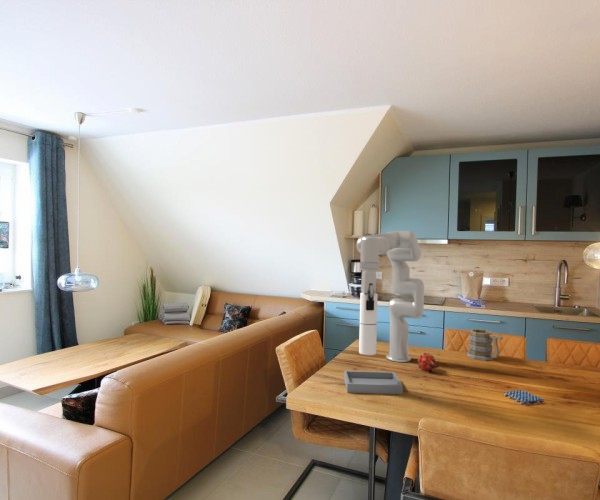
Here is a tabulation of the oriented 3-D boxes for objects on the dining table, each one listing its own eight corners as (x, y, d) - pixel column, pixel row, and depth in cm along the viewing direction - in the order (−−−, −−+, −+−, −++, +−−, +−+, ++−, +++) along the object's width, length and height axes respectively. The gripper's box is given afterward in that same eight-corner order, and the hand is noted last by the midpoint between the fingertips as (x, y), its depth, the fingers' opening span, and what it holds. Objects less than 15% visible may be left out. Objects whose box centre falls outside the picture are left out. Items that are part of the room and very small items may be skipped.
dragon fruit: (423, 368, 190) (432, 380, 179) (410, 359, 189) (419, 370, 177) (434, 355, 190) (444, 367, 178) (421, 346, 188) (431, 356, 177)
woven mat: (524, 407, 144) (524, 402, 144) (502, 396, 154) (502, 391, 154) (546, 404, 147) (546, 399, 147) (522, 394, 157) (523, 389, 157)
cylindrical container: (356, 353, 160) (358, 293, 159) (362, 349, 166) (363, 292, 166) (373, 356, 157) (374, 295, 156) (378, 351, 163) (379, 293, 163)
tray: (344, 378, 170) (344, 370, 170) (394, 379, 169) (394, 372, 169) (347, 392, 154) (347, 383, 154) (402, 394, 153) (402, 385, 153)
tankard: (462, 354, 211) (463, 327, 211) (481, 352, 215) (481, 326, 215) (490, 365, 192) (491, 335, 192) (510, 363, 196) (511, 334, 196)
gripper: (357, 265, 170) (356, 305, 170) (363, 267, 152) (362, 312, 152) (374, 265, 169) (373, 305, 170) (382, 267, 152) (381, 312, 152)
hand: (368, 308), depth 161 cm, fingers closed on cylindrical container, 7 cm apart
